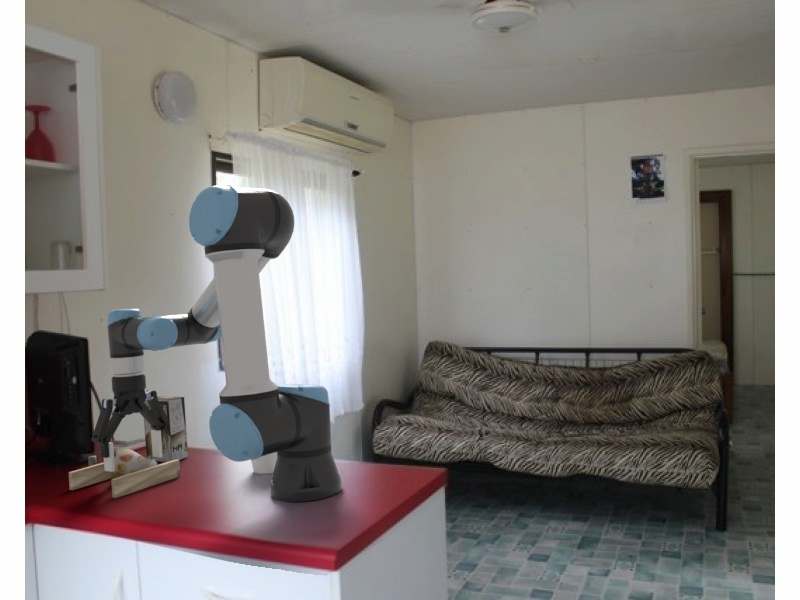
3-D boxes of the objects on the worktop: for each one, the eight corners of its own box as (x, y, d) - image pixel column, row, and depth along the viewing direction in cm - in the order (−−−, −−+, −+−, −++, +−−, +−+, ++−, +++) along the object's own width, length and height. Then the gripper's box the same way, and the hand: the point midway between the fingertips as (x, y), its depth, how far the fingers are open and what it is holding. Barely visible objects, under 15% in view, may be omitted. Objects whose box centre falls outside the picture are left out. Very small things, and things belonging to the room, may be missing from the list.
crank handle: (121, 468, 186) (120, 447, 185) (128, 469, 184) (126, 448, 184) (87, 479, 177) (85, 457, 177) (93, 480, 176) (91, 458, 176)
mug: (156, 481, 170) (126, 452, 166) (128, 498, 173) (97, 470, 170) (168, 460, 176) (139, 432, 173) (140, 476, 180) (111, 449, 176)
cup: (291, 465, 179) (289, 417, 179) (278, 475, 170) (275, 424, 170) (257, 465, 181) (254, 417, 181) (242, 475, 172) (239, 425, 172)
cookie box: (189, 456, 194) (185, 396, 193) (172, 463, 188) (168, 400, 187) (162, 454, 197) (158, 395, 197) (145, 461, 192) (141, 399, 191)
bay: (180, 476, 174) (179, 459, 174) (116, 497, 159) (114, 479, 159) (134, 469, 183) (133, 453, 183) (69, 489, 168) (68, 472, 167)
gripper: (159, 367, 185) (165, 450, 185) (70, 381, 163) (77, 475, 164) (180, 367, 181) (186, 452, 181) (91, 382, 160) (98, 478, 160)
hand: (134, 463), depth 173 cm, fingers open, 13 cm apart
